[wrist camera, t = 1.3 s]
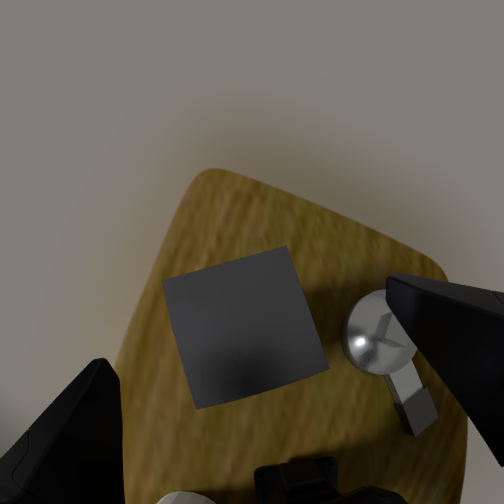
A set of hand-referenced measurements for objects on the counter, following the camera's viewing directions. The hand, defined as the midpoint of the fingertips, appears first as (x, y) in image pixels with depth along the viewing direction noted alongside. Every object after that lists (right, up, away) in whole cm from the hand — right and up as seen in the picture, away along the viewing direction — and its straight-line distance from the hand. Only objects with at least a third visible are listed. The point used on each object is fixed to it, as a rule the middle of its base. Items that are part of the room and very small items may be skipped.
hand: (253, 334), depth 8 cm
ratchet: (+12, -7, +12) cm, 18 cm away
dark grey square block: (-1, -4, +13) cm, 14 cm away
